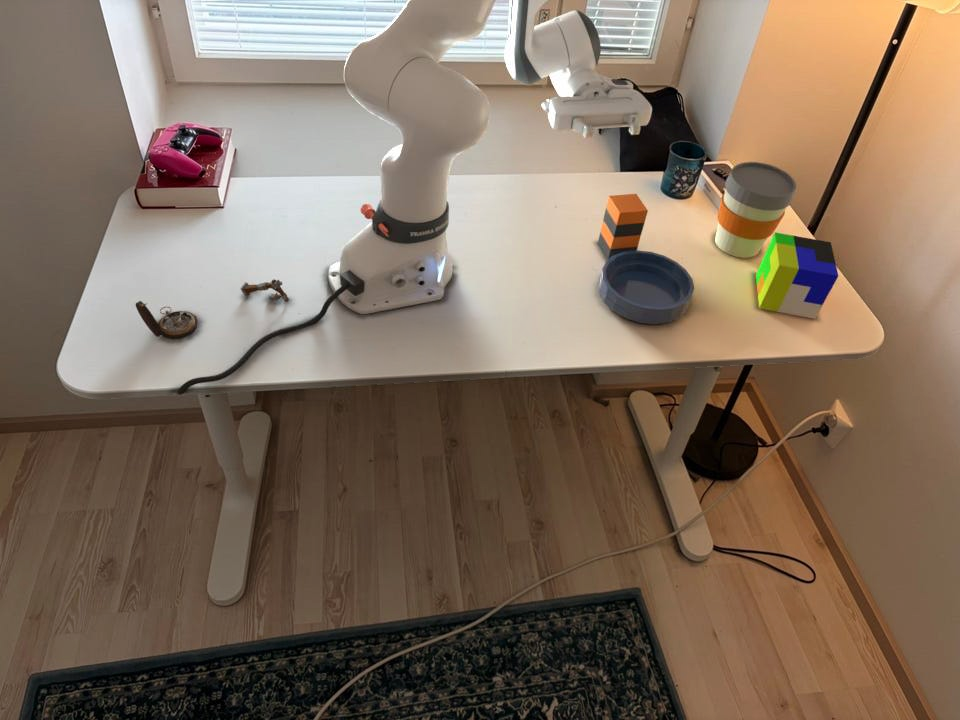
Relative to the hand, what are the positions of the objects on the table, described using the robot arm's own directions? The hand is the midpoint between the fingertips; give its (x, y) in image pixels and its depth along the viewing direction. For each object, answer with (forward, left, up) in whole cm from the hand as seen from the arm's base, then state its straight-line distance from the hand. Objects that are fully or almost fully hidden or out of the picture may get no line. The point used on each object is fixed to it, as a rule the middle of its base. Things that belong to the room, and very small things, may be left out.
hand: (613, 132), depth 136 cm
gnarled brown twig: (-68, +6, -19) cm, 71 cm away
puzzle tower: (-4, -12, -18) cm, 22 cm away
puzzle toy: (+16, -37, -19) cm, 44 cm away
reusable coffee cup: (+20, -21, -19) cm, 35 cm away
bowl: (-8, -24, -18) cm, 32 cm away
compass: (-84, +6, -19) cm, 86 cm away
